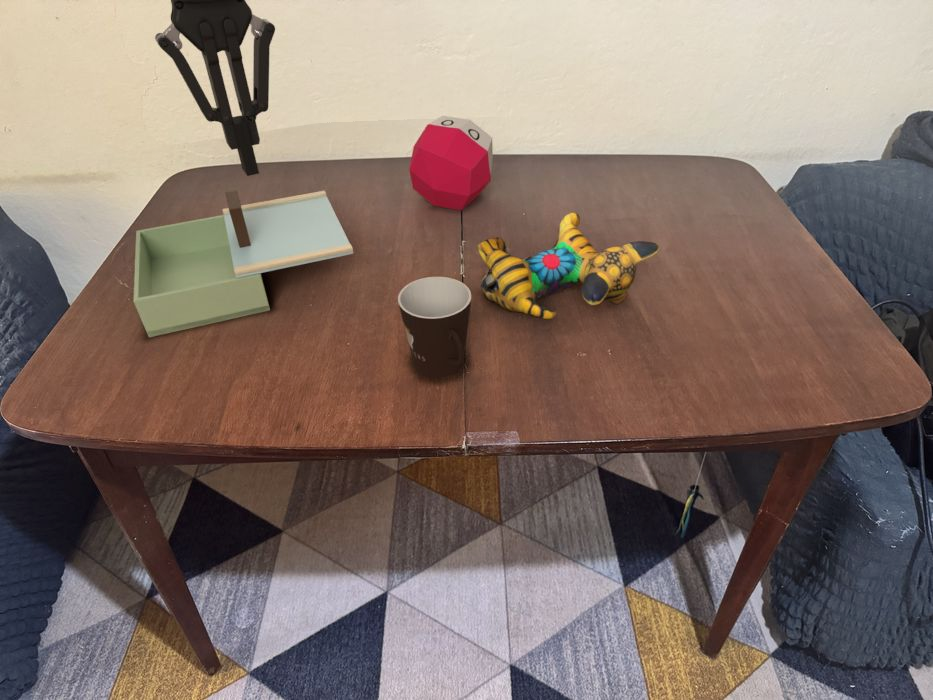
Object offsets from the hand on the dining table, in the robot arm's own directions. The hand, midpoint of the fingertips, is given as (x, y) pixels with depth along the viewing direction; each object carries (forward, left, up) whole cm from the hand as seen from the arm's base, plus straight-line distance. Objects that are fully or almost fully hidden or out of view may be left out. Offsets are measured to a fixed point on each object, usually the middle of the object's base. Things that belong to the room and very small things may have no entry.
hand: (250, 170), depth 81 cm
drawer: (+3, +7, -13) cm, 15 cm away
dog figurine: (+37, -16, -20) cm, 45 cm away
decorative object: (+34, +19, -20) cm, 44 cm away
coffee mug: (+16, -24, -20) cm, 35 cm away
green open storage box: (-10, +7, -19) cm, 23 cm away
